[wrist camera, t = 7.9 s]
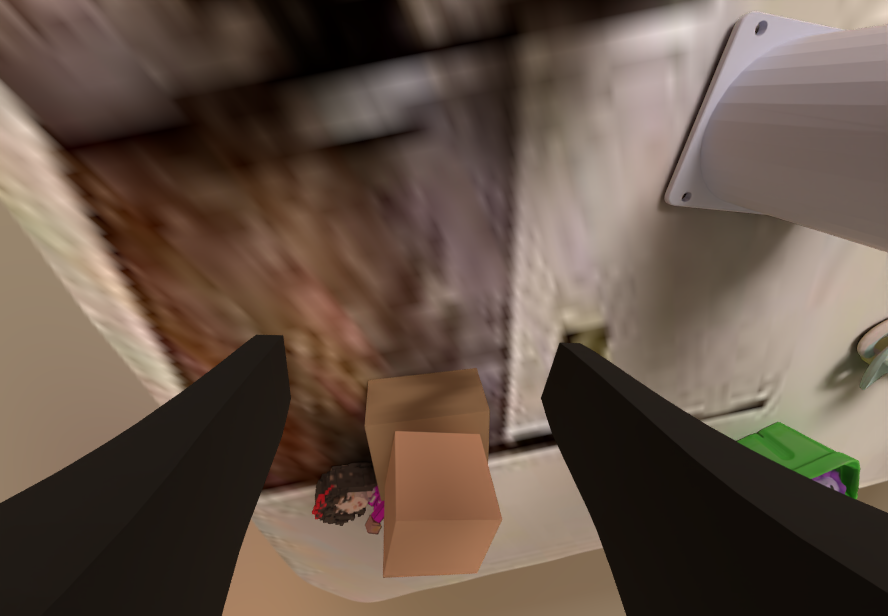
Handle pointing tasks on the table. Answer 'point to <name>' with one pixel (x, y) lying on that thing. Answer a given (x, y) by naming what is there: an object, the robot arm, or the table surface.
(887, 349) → the pacifier
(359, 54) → the table surface
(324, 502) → the character figurine
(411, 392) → the brown square block
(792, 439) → the fruit basket
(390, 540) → the terracotta cube
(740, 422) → the table surface
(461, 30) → the table surface
